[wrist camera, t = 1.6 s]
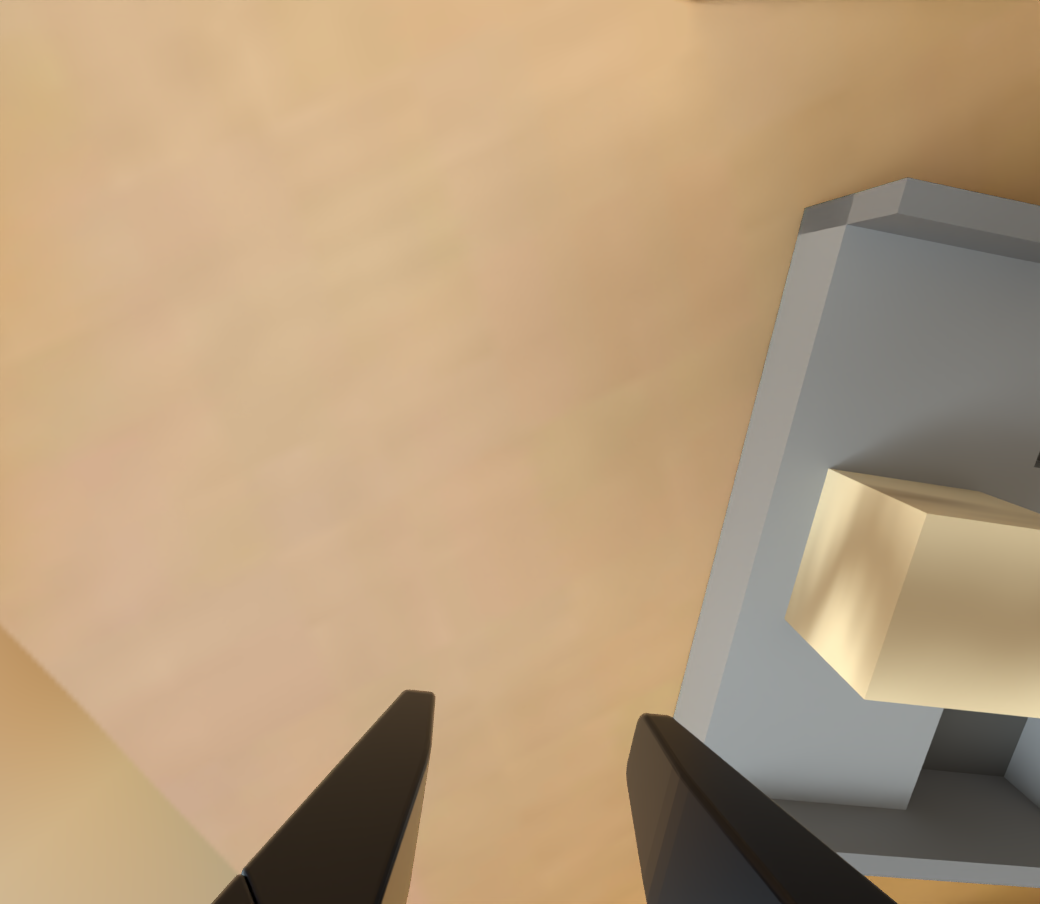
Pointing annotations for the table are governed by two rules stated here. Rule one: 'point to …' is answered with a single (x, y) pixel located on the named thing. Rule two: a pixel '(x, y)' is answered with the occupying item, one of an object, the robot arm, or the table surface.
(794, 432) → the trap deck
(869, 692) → the maple block
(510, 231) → the table surface
